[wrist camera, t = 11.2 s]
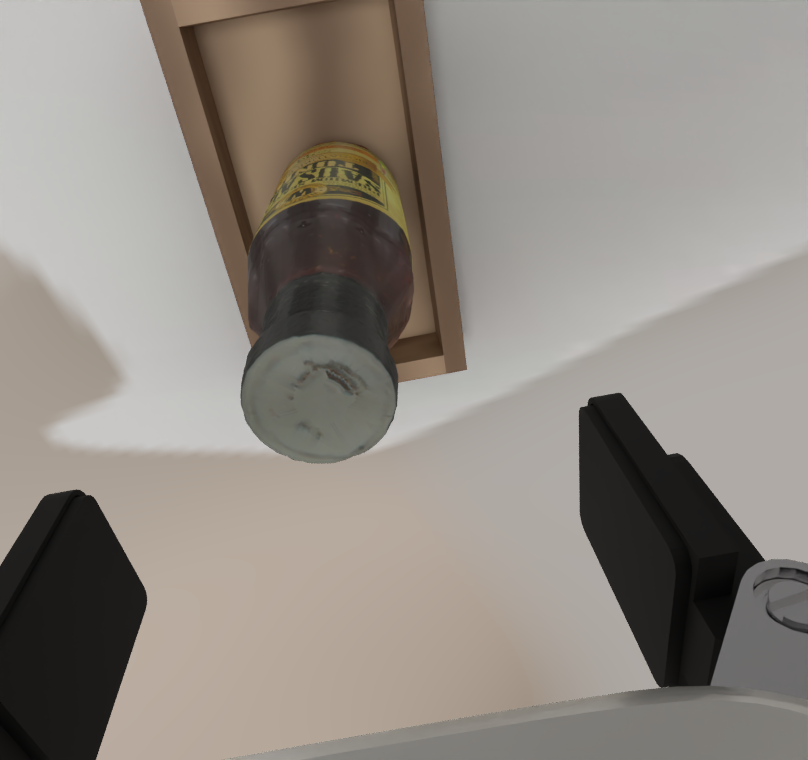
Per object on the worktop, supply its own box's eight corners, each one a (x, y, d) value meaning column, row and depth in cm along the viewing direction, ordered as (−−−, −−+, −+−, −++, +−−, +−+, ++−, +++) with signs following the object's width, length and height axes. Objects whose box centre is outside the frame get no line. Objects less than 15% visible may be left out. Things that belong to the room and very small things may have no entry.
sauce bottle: (375, 118, 31) (427, 241, 14) (411, 234, 34) (490, 452, 17) (253, 161, 31) (154, 332, 14) (300, 271, 34) (266, 521, 17)
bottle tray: (406, -43, 28) (416, -52, 25) (454, 338, 39) (466, 369, 35) (162, 1, 28) (139, -2, 25) (275, 372, 38) (270, 406, 35)
